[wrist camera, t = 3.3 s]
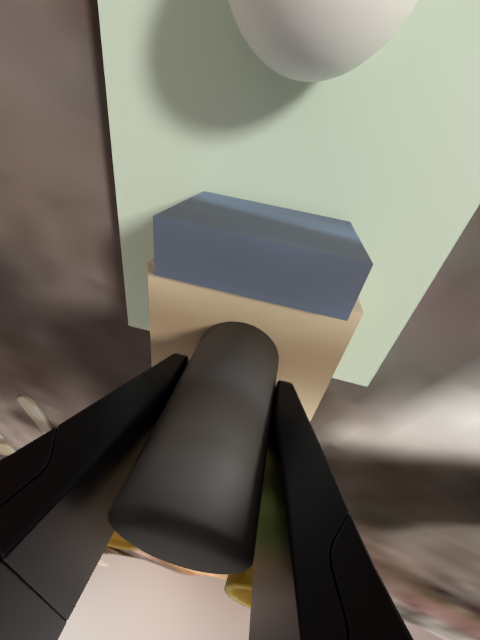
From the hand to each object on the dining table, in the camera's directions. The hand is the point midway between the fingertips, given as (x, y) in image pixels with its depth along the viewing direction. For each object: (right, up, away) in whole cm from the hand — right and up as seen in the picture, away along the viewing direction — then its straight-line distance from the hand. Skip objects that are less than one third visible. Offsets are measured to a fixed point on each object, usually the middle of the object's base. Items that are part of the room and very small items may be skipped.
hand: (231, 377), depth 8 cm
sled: (+1, +3, +3) cm, 4 cm away
